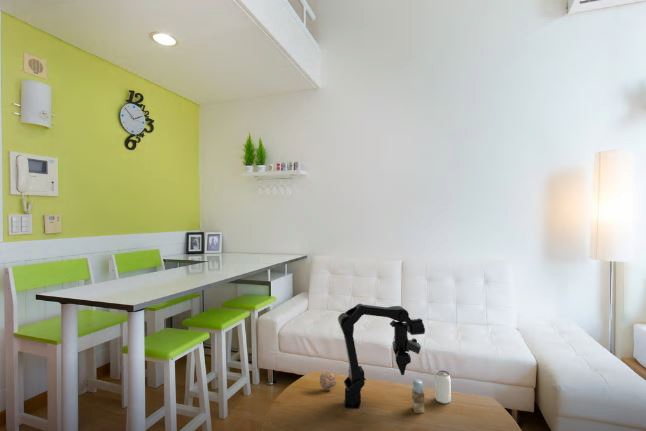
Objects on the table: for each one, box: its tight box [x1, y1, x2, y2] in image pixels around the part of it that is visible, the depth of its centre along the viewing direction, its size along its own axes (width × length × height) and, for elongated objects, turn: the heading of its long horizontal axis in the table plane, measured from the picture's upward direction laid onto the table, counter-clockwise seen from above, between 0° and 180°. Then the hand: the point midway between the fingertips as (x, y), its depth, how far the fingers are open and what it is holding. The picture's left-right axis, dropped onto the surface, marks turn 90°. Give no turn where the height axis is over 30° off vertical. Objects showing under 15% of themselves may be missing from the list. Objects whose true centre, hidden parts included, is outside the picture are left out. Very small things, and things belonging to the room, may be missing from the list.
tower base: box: [412, 399, 425, 414], centre depth 144 cm, size 4×4×4 cm
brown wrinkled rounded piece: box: [319, 371, 337, 391], centre depth 162 cm, size 8×6×8 cm
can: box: [434, 369, 452, 405], centre depth 151 cm, size 6×6×12 cm
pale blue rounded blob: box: [412, 378, 424, 394], centre depth 144 cm, size 4×4×4 cm
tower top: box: [411, 388, 425, 404], centre depth 144 cm, size 4×4×4 cm
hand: (401, 370), depth 153 cm, fingers open, 9 cm apart
